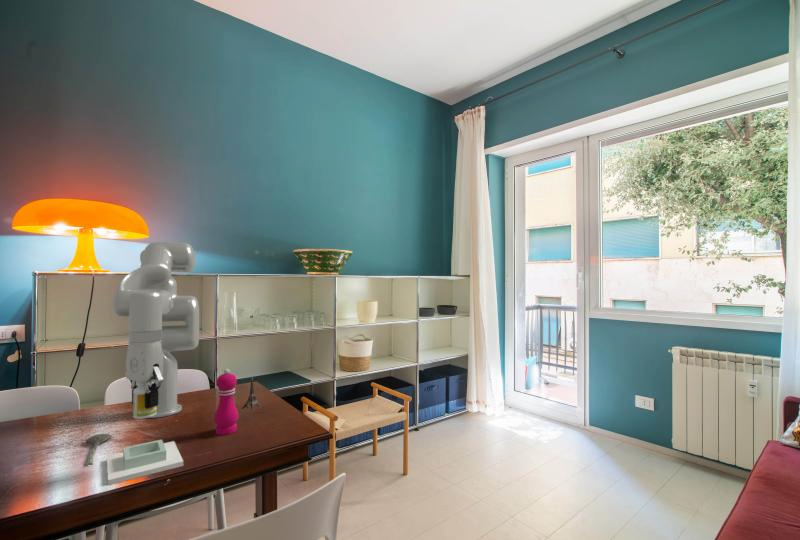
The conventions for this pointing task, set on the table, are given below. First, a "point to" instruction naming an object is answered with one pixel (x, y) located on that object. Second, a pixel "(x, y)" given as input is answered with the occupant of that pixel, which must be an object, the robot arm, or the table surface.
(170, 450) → the cup holder
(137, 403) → the supplement bottle
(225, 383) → the pepper mill
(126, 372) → the robot arm
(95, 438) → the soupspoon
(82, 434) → the table surface
